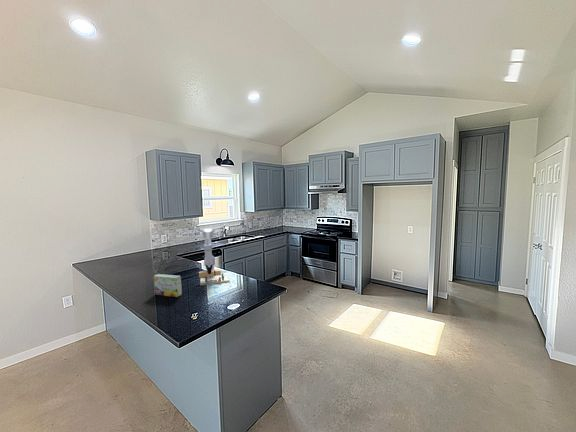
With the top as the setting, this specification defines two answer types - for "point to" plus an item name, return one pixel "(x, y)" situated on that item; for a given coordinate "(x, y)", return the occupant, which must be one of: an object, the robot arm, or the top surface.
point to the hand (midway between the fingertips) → (209, 273)
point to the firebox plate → (214, 280)
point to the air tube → (213, 272)
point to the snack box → (167, 285)
